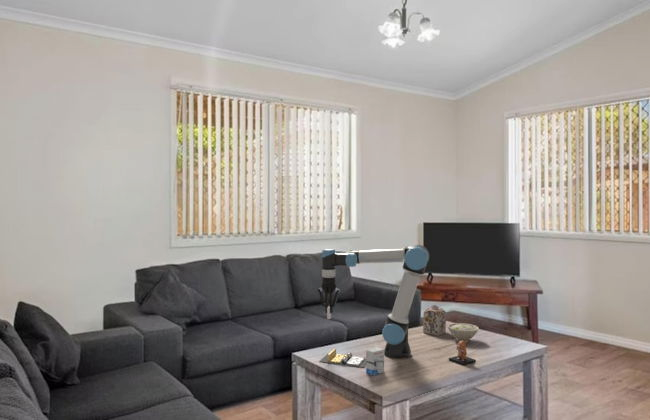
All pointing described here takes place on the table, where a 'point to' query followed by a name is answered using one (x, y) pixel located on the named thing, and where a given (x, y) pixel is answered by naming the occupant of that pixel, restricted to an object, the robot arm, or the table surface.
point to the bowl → (462, 331)
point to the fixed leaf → (352, 360)
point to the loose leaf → (335, 357)
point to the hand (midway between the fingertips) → (329, 318)
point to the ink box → (374, 361)
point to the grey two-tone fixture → (325, 360)
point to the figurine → (462, 355)
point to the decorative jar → (434, 320)
